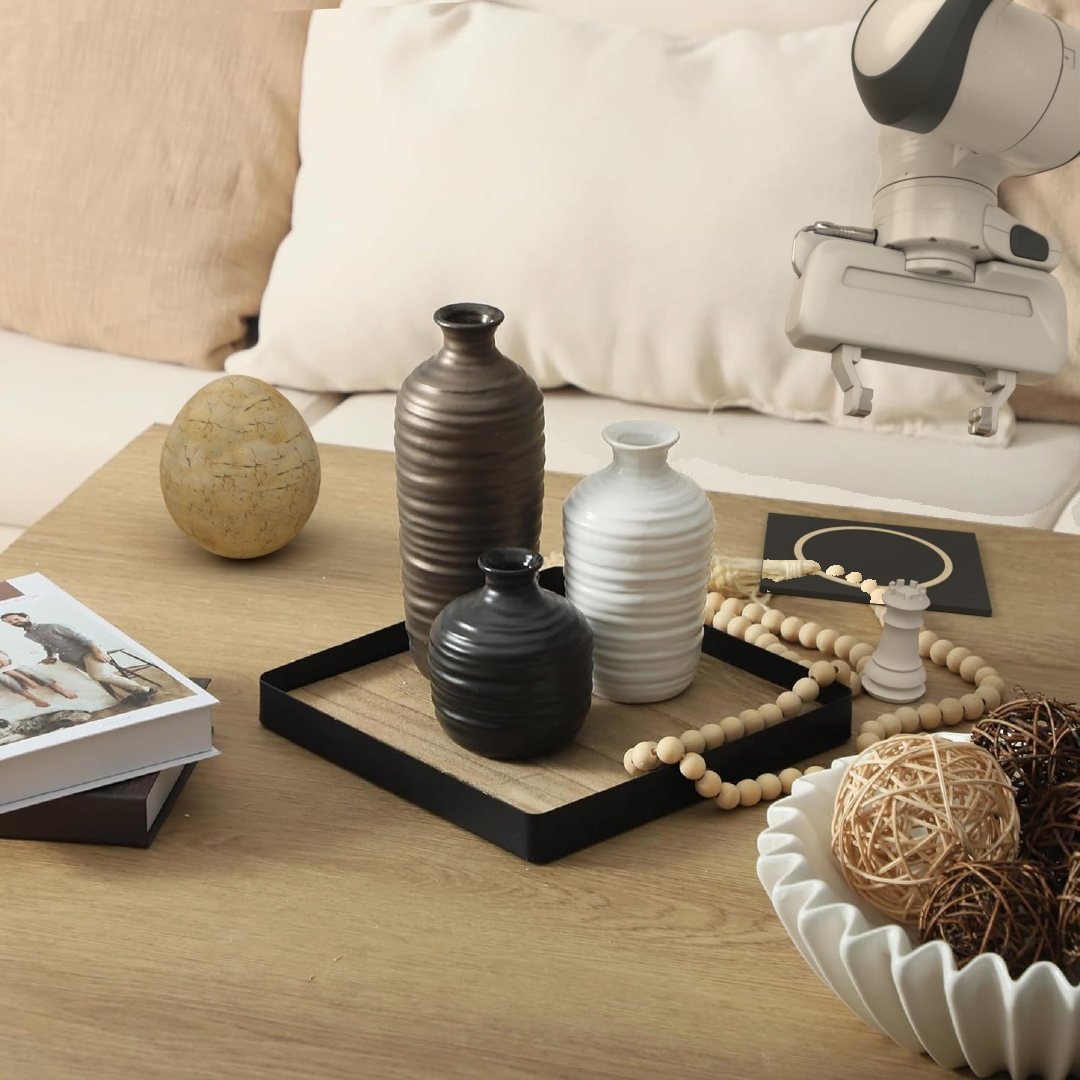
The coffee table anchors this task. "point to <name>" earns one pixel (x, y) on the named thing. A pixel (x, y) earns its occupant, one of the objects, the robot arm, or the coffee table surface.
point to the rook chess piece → (899, 647)
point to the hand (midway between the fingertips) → (920, 425)
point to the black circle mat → (878, 560)
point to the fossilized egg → (240, 468)
